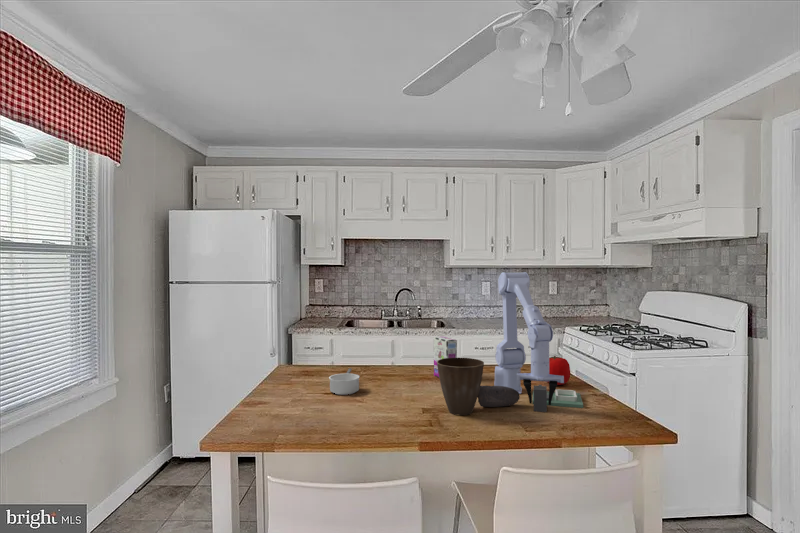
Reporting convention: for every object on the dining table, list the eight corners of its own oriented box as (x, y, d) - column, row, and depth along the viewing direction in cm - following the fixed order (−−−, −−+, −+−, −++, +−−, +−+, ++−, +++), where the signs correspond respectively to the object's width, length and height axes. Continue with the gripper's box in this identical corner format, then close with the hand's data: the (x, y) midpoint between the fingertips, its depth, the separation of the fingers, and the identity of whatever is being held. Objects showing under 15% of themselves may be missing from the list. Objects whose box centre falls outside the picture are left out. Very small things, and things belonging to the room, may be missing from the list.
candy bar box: (457, 380, 194) (457, 339, 194) (446, 381, 192) (446, 340, 192) (443, 374, 204) (443, 335, 204) (433, 375, 202) (433, 336, 202)
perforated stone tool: (517, 403, 163) (516, 382, 163) (522, 407, 158) (522, 386, 158) (473, 404, 162) (473, 384, 162) (477, 409, 156) (477, 388, 156)
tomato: (575, 388, 181) (575, 358, 181) (544, 388, 181) (544, 358, 181) (564, 380, 193) (564, 352, 193) (536, 380, 193) (535, 352, 193)
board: (532, 404, 162) (532, 396, 162) (532, 393, 175) (532, 386, 175) (583, 408, 157) (583, 400, 157) (579, 396, 171) (579, 389, 170)
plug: (533, 411, 154) (533, 389, 154) (533, 405, 160) (533, 384, 160) (546, 412, 153) (546, 390, 153) (546, 406, 159) (546, 385, 159)
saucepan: (364, 382, 192) (364, 368, 192) (357, 396, 172) (357, 381, 172) (336, 382, 193) (336, 368, 193) (326, 396, 173) (325, 380, 173)
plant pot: (429, 407, 159) (429, 359, 158) (469, 402, 164) (469, 355, 164) (450, 421, 145) (449, 368, 144) (493, 415, 150) (492, 364, 150)
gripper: (516, 362, 154) (516, 405, 154) (564, 365, 150) (564, 408, 150) (517, 358, 161) (517, 399, 161) (563, 360, 157) (563, 402, 157)
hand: (540, 403), depth 156 cm, fingers open, 5 cm apart
